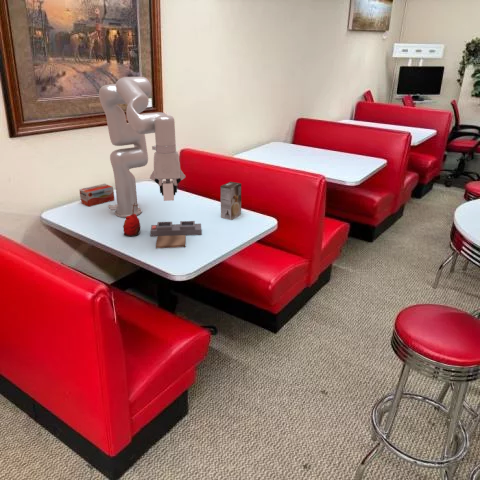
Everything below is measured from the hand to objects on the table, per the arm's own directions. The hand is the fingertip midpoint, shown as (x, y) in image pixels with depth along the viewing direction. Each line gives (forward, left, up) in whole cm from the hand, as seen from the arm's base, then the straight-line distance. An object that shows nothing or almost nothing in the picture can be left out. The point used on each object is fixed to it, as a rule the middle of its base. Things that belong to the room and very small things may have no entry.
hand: (168, 194), depth 173 cm
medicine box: (-40, +55, -22) cm, 71 cm away
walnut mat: (0, 0, -21) cm, 21 cm away
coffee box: (+28, +28, -22) cm, 45 cm away
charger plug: (0, 0, -2) cm, 2 cm away
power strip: (+2, +10, -21) cm, 24 cm away
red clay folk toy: (-17, +10, -22) cm, 29 cm away
